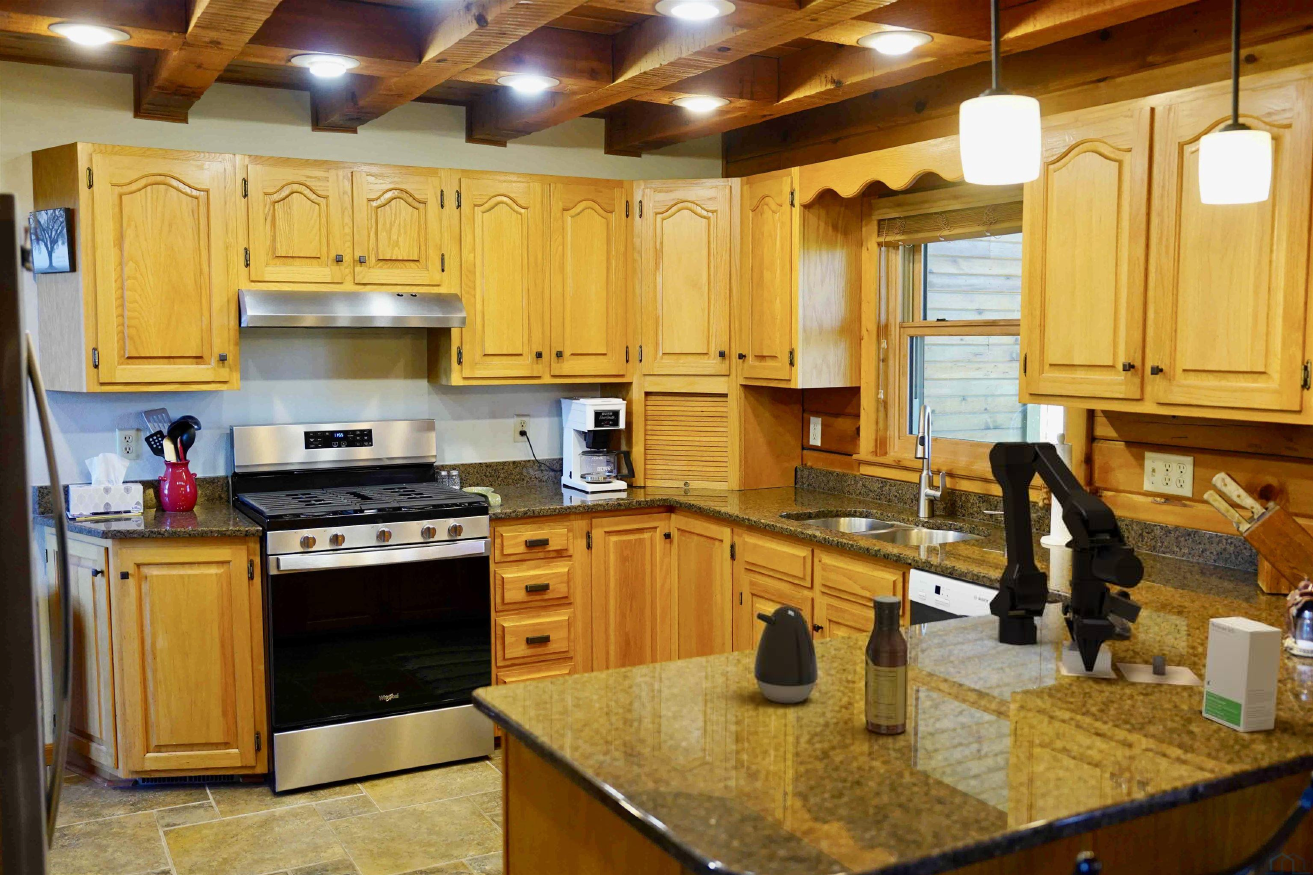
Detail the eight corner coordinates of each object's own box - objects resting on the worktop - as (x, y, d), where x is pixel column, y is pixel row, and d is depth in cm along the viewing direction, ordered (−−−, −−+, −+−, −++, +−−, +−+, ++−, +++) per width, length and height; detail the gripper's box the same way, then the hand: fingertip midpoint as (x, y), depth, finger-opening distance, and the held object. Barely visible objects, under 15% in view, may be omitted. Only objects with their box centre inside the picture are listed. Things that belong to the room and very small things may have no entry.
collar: (1067, 673, 200) (1068, 650, 200) (1061, 663, 207) (1062, 640, 207) (1110, 676, 199) (1111, 653, 198) (1103, 665, 205) (1104, 643, 205)
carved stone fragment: (1139, 640, 227) (1116, 595, 227) (1095, 659, 229) (1071, 614, 229) (1129, 626, 237) (1106, 583, 238) (1086, 644, 240) (1064, 601, 240)
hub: (1128, 688, 196) (1129, 663, 195) (1115, 669, 207) (1116, 646, 207) (1204, 693, 193) (1206, 668, 193) (1187, 673, 205) (1188, 650, 205)
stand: (1061, 681, 199) (1062, 658, 199) (1054, 667, 208) (1055, 645, 208) (1117, 685, 198) (1118, 661, 197) (1107, 671, 206) (1108, 649, 206)
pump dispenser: (742, 693, 190) (743, 601, 189) (798, 687, 194) (800, 597, 193) (769, 711, 181) (771, 614, 180) (828, 704, 184) (830, 610, 183)
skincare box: (1200, 717, 180) (1205, 618, 179) (1234, 713, 183) (1238, 615, 181) (1244, 733, 172) (1249, 630, 171) (1278, 729, 175) (1283, 627, 174)
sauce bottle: (877, 720, 177) (880, 591, 176) (914, 728, 173) (918, 597, 172) (855, 730, 172) (858, 597, 171) (893, 739, 168) (897, 604, 167)
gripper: (1149, 590, 191) (1146, 683, 192) (1127, 570, 209) (1124, 655, 210) (1078, 586, 193) (1075, 679, 194) (1062, 567, 211) (1059, 651, 212)
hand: (1085, 665), depth 203 cm, fingers closed on collar, 7 cm apart
